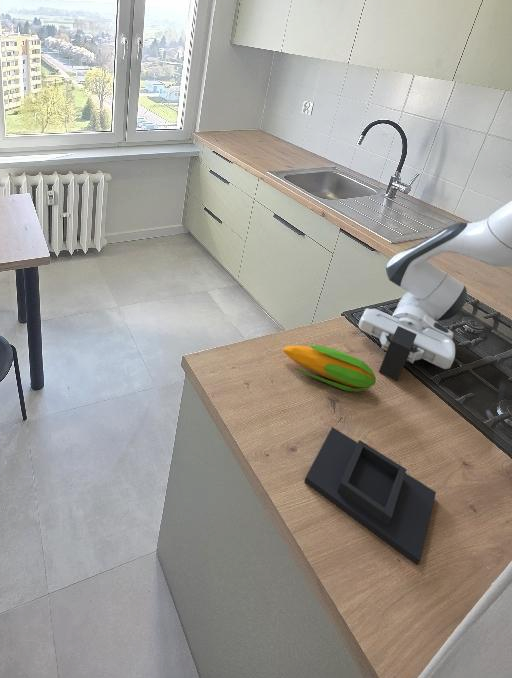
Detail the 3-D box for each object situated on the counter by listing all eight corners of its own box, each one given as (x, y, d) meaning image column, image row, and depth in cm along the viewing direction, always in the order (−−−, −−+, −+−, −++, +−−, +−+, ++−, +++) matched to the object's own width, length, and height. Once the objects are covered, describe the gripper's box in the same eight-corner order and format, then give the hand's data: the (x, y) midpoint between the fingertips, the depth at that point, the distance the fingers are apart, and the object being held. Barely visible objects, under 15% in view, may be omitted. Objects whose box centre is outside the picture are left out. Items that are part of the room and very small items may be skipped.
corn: (381, 379, 89) (284, 345, 97) (371, 406, 92) (278, 371, 100) (379, 357, 95) (288, 328, 103) (369, 383, 98) (281, 352, 106)
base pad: (433, 497, 75) (440, 483, 73) (417, 565, 65) (425, 551, 64) (330, 431, 86) (335, 418, 84) (303, 482, 76) (308, 468, 75)
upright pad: (403, 365, 103) (416, 334, 99) (397, 381, 98) (410, 349, 94) (386, 356, 106) (398, 325, 102) (378, 372, 101) (390, 340, 97)
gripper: (370, 297, 114) (354, 321, 104) (461, 335, 101) (453, 367, 92) (363, 315, 116) (348, 341, 107) (452, 355, 104) (443, 388, 94)
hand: (397, 353), depth 99 cm, fingers closed on upright pad, 4 cm apart
